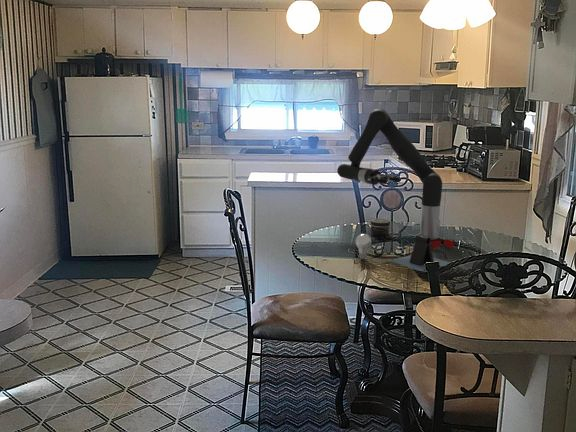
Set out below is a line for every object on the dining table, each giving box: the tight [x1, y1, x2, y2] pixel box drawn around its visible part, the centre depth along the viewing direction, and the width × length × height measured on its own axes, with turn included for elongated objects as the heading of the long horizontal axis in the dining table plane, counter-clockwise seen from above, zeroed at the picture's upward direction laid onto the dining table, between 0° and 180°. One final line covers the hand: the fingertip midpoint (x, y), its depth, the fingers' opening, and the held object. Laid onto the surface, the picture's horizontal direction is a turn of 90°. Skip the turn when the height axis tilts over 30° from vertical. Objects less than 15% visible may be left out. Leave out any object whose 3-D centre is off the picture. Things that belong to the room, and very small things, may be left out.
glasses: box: [430, 238, 473, 260], centre depth 280 cm, size 14×16×5 cm
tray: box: [389, 255, 450, 271], centre depth 264 cm, size 20×20×1 cm
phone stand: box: [409, 234, 434, 266], centre depth 262 cm, size 9×6×12 cm, turn 125°
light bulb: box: [355, 233, 372, 261], centre depth 267 cm, size 7×7×12 cm
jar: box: [369, 218, 391, 238], centre depth 310 cm, size 10×10×8 cm
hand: (393, 181), depth 283 cm, fingers open, 8 cm apart
